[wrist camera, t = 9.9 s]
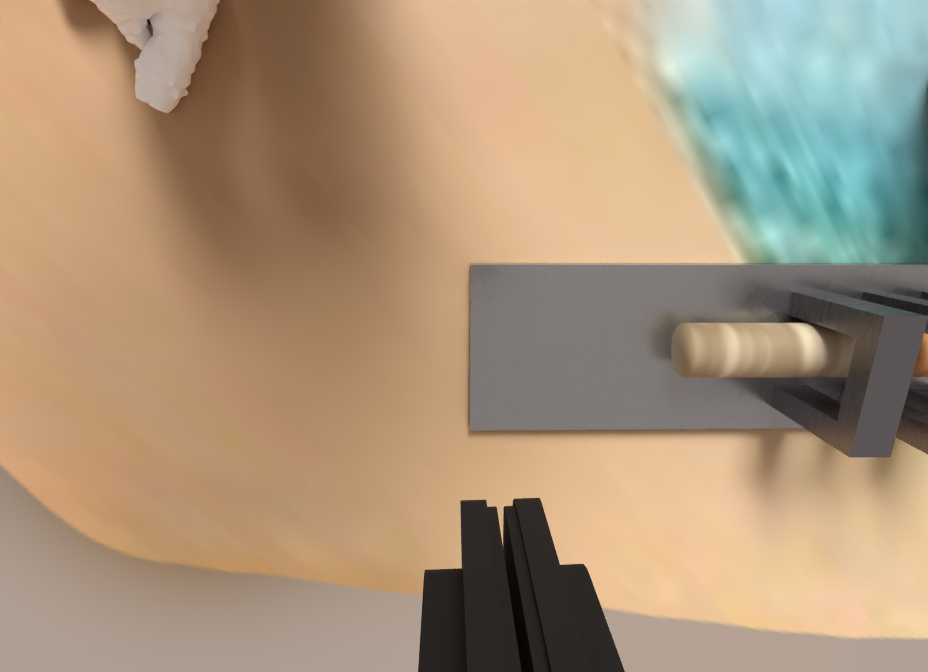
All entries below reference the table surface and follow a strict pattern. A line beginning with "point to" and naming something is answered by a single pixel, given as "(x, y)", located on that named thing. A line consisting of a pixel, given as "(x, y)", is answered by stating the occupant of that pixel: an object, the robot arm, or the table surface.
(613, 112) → the table surface
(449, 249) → the table surface
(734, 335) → the dowel
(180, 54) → the white creature statuette
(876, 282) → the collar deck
